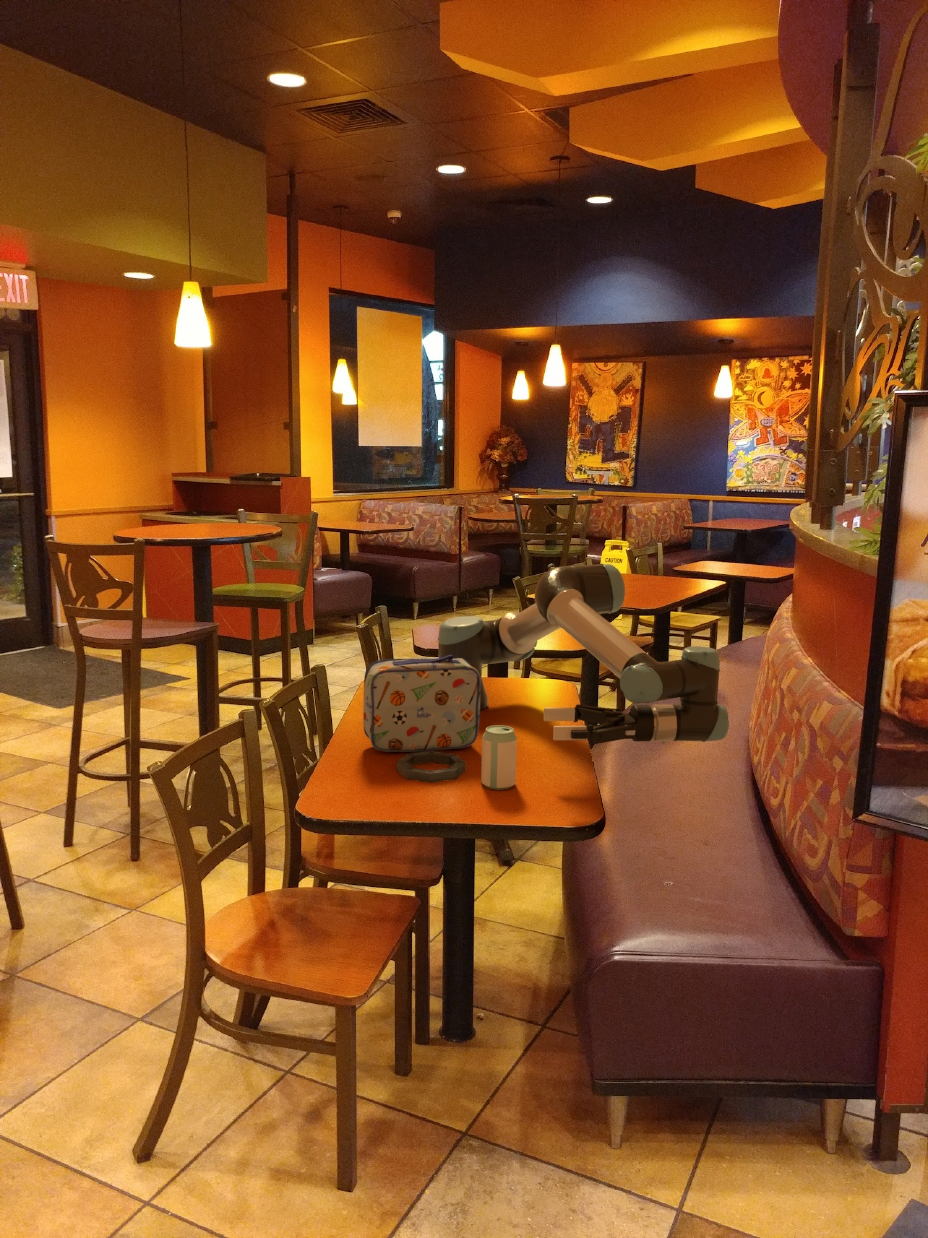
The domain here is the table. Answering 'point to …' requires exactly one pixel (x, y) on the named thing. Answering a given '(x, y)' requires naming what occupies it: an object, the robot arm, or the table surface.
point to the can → (499, 757)
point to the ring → (431, 775)
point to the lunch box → (421, 704)
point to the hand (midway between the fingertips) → (548, 723)
